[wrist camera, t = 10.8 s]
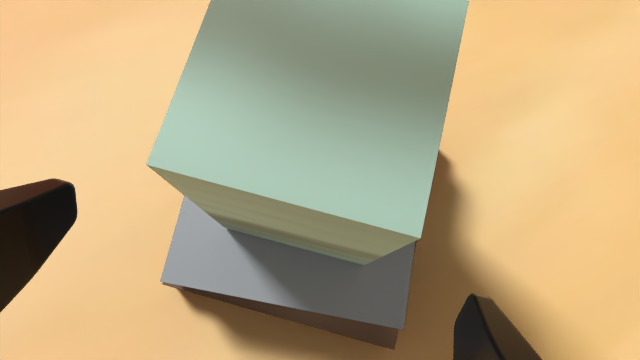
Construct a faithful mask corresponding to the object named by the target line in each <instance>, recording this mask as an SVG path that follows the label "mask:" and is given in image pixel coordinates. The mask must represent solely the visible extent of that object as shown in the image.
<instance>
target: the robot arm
mask: <svg viewBox="0 0 640 360" xmlns="http://www.w3.org/2000/svg"><path fill="white" fill-rule="evenodd" d="M76 218H77V203H76V193H75V187H74V185H73V184H72V183H70V182H67V181H63V180H60V179H48V180H43V181H39V182H35V183H30V184H26V185H21V186H17V187H13V188H8V189H4V190H0V312H1V311H2V310H3V309H4V308H5V307H6V306H7V305H8V304H9V303H10V302H11V301H12V300H13V298H14V297H15V296H16V295H17V294H18V293H19V292H20V291H21V290H22V289H23V288H24V287H25V286H26V284H27V283H28V282H29V281H30V280H31V279H32V278H33V276H34V275H35V274H36V273H37V272H38V270H39V269H40V268H41V266H42V265H43V264H44V263H45V261H46V260H47V259H48V257H49V256H50V255H51V253H52V252H53V251H54V249H55V248H56V247H57V245H58V244H59V243H60V241H61V240H62V239H63V237H64V236H65V235H66V233H67V232H68V231H69V230H70V228H71V227H72V226H73V224H74V223H75V221H76ZM453 360H542V359H541V357H540V356H539V355H538V354H537V353H536V351H535V350H534V349H533V348H532V347H531V345H530V344H529V343H528V342H527V341H526V339H525V338H524V337H523V336H522V335H521V333H520V332H519V331H518V330H517V329H516V327H515V326H514V325H513V324H512V323H511V322H510V320H509V319H508V318H507V317H506V316H505V314H504V313H503V312H502V311H501V310H500V308H499V307H498V306H497V305H496V304H495V302H494V301H493V300H492V299H491V298H489V297H485V296H482V295H478V294H470V295H469V297H468V298H467V300H466V302H465V304H464V305H463V307H462V309H461V311H460V313H459V315H458V317H457V319H456V322H455V326H454V354H453Z"/></svg>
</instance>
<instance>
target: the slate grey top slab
mask: <svg viewBox="0 0 640 360" xmlns="http://www.w3.org/2000/svg"><path fill="white" fill-rule="evenodd" d="M414 248H415V241H414V242H412V243H410V244H408V245H406V246H404V247H402V248H400V249H398V250H395V251H393V252H391V253H389V254H387V255H385V256H383V257H381V258H379V259H377V260H375V261H373V262H370V263H368V264H366V265H364V266H363V265H360V264H356V263H352V262H349V261H345V260H341V259H338V258H334V257H330V256H327V255H323V254H319V253H316V252H312V251H308V250H305V249H301V248H297V247H294V246H290V245H286V244H283V243H279V242H275V241H272V240H268V239H264V238H261V237H257V236H253V235H250V234H246V233H242V232H239V231H235V230H231V229H228V228H224V227H223V226H222V225H221V224H219V223H218V222H217V221H216V220H214V219H213V218H212V217H211V216H209V215H208V214H207V213H206V212H205V211H203V210H202V209H201V208H200V207H198V206H197V205H196V204H195V203H193V202H192V201H191V200H190V199H188V198H187V197H186V196H185V195H184V199H183V202H182V206H181V209H180V213H179V217H178V220H177V224H176V227H175V231H174V234H173V238H172V241H171V245H170V249H169V252H168V256H167V259H166V263H165V266H164V270H163V273H162V277H161V280H160V282H165V283H170V284H175V285H181V286H186V287H191V288H196V289H201V290H206V291H211V292H216V293H221V294H226V295H231V296H236V297H241V298H246V299H251V300H256V301H261V302H266V303H271V304H276V305H281V306H286V307H291V308H296V309H301V310H306V311H311V312H316V313H321V314H326V315H331V316H336V317H341V318H346V319H351V320H356V321H361V322H366V323H371V324H377V325H382V326H387V327H392V328H397V329H402V330H404V324H405V317H406V309H407V301H408V294H409V286H410V279H411V271H412V263H413V256H414Z"/></svg>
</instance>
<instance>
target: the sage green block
mask: <svg viewBox="0 0 640 360" xmlns="http://www.w3.org/2000/svg"><path fill="white" fill-rule="evenodd" d="M468 3H469V1H468V0H211V2H210V4H209V7H208V9H207V12H206V14H205V17H204V19H203V22H202V24H201V27H200V30H199V32H198V35H197V37H196V40H195V42H194V45H193V47H192V50H191V52H190V55H189V58H188V60H187V63H186V65H185V68H184V70H183V73H182V75H181V78H180V80H179V83H178V86H177V88H176V91H175V93H174V96H173V98H172V101H171V103H170V106H169V108H168V111H167V113H166V116H165V119H164V121H163V124H162V126H161V129H160V131H159V134H158V136H157V139H156V141H155V144H154V147H153V149H152V152H151V154H150V157H149V159H148V162H147V164H146V165H147V166H149V167H150V168H151V169H152V170H154V171H155V172H156V173H157V174H159V175H160V176H161V177H162V178H164V179H165V180H166V181H167V182H168V183H170V184H171V185H172V186H173V187H175V188H176V189H177V190H178V191H180V192H181V193H182V194H183V195H185V196H186V197H187V198H188V199H190V200H191V201H192V202H193V203H195V204H196V205H197V206H198V207H200V208H201V209H202V210H203V211H205V212H206V213H207V214H208V215H209V216H211V217H212V218H213V219H214V220H216V221H217V222H218V223H219V224H221V225H222V226H223V227H224V228H228V229H231V230H235V231H239V232H242V233H246V234H250V235H253V236H257V237H261V238H264V239H268V240H272V241H275V242H279V243H283V244H286V245H290V246H294V247H297V248H301V249H305V250H308V251H312V252H316V253H319V254H323V255H327V256H330V257H334V258H338V259H341V260H345V261H349V262H352V263H356V264H360V265H363V266H364V265H366V264H368V263H370V262H373V261H375V260H377V259H379V258H381V257H383V256H385V255H387V254H389V253H391V252H393V251H395V250H398V249H400V248H402V247H404V246H406V245H408V244H410V243H412V242H414V241H416V240H418V239H420V238H421V235H422V230H423V225H424V220H425V215H426V210H427V205H428V200H429V195H430V190H431V185H432V180H433V175H434V171H435V166H436V161H437V156H438V151H439V146H440V141H441V136H442V131H443V126H444V121H445V116H446V111H447V107H448V102H449V97H450V92H451V87H452V82H453V77H454V72H455V67H456V62H457V57H458V52H459V47H460V43H461V38H462V33H463V28H464V23H465V18H466V13H467V8H468Z"/></svg>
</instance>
